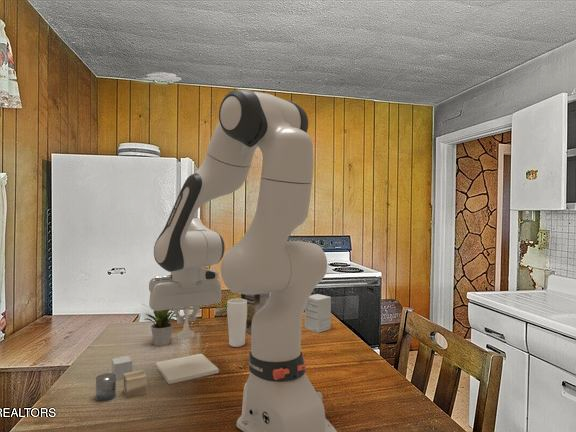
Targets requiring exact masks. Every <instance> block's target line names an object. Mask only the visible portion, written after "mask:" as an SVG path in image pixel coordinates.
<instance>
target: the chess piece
mask: <svg viewBox="0 0 576 432" xmlns="http://www.w3.org/2000/svg"><path fill="white" fill-rule="evenodd" d="M190 310H191V308H190V307H183V308H182V311H183V315H182V316H183V317H184V323H183V329H182V330H181V331H178V332H177V336H176V337H177V338H178V339H180V340H181V339H183V340H187V339H192V338H194V337H195V336H196V334H195V331H193V330H191V329H190V325H189V317H190V315H189V314H190Z"/></svg>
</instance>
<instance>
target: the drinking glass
mask: <svg viewBox="0 0 576 432" xmlns="http://www.w3.org/2000/svg"><path fill="white" fill-rule="evenodd" d="M226 303H227V305H226V314H227V326H228V328H227V329H228V344H229V346H231V347H235V348H240V347H243V346H244V345H245V344H246V333H247V332H246V321H247V300H245V299H241V298H230V299H228V300H227V302H226Z"/></svg>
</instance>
